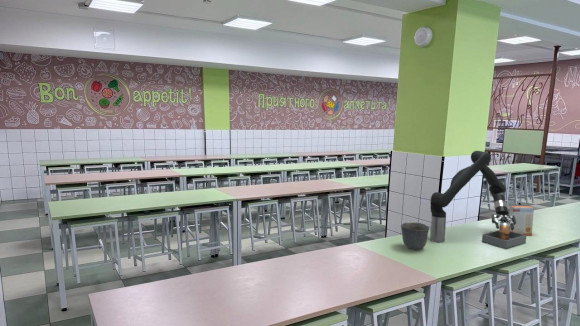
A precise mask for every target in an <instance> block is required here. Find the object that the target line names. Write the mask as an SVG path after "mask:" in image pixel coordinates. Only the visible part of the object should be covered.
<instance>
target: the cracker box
mask: <svg viewBox="0 0 580 326" xmlns="http://www.w3.org/2000/svg"><path fill="white" fill-rule="evenodd" d="M508 213H509V216H513V215H514V216H515V219H516V224H515V225H514V229H513V230H511V226H510V231H512V232H516V233H520V234H523V235H526V237H529V236H531V237H532V236H533V223H534V207H533V206H530V205H509V209H508ZM509 219H511V218H509ZM511 221H512V219H511ZM512 222H513V221H512Z"/></svg>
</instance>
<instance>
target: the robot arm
mask: <svg viewBox="0 0 580 326" xmlns="http://www.w3.org/2000/svg"><path fill="white" fill-rule="evenodd" d="M491 159H492V155H491V154H490V153H489V152H486V151H482V150H475V151H473V152H472V153H471V155H470V161H471V162H472V164H471V165H469V166H467V167H464V168H462V169H460V170H458V172H456V173H455V174H454V176H453V177H452V178H451V179H450V180H451V181H450V185H449V188H448V189H446V191H445V192H443V193H441V192H440V191H439V192H438V191H437V192H434V193H432V195H431V196H430V213H431V217H430V218H431V221H430V226H429V227H430V228H429V231H430V232H429V240H430V242H434V243H444V242H445V241H446V226H447V225H446V224H447V211H445V209H443V208H446V207H447V206H449V204H450V203H451V202H452V201H453V200H454V199H455V197H456V196H457V195H458V193H459V192H460V191H461V190H462V189H463V188H464V187H465V186H466V185H467V184H468V183H469V182H471V180H472V179H473V178H474V177H475V176H476V175H477V174H478V173H479V172H480V173H481V174H482V175H483V176H484V179H485V180H486V182H487V184H488V187H489V188H488V191H489V193H490V195H491V196H492V199H493V202H494V211H495V214H494V213H492V214H491V223H492V224H495V228H496V229H497V230H499V227H500V222H509V223H510V226H511V230H513V229H514V225H515V224H516V219H515V216H514V215H513V216H509V209H508V204H507V201H506V197H505V195H504V194H503V193H506V191H507V187H506V185H505V184H504V183H503V182H502V181H501V180H499V178H498V176H497V175H496V173H495V172H494V171H493V170H492V169H491V168H490V167H489V166H488V164H489V163H490V161H491ZM495 218H496V219H495ZM509 218H511V219H512V221H513V222H512V221H511V219H509Z"/></svg>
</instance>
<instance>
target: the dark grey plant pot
mask: <svg viewBox="0 0 580 326" xmlns="http://www.w3.org/2000/svg"><path fill="white" fill-rule="evenodd" d="M430 227H431V226H429V225H426V224H425V223H421V222H404V223H401V224H400V228H401V236H402V237H401V238H402V242H403V244H404V246H406V247H407V248H408V249H413V250H421V249H423V248H425V246H426V245H427V241H428V236H429V231H430Z"/></svg>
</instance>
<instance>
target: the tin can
mask: <svg viewBox="0 0 580 326" xmlns="http://www.w3.org/2000/svg"><path fill="white" fill-rule="evenodd" d="M498 230H499V239H502V240H509V235H510V223H509V222H501V221H499V229H498Z"/></svg>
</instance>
